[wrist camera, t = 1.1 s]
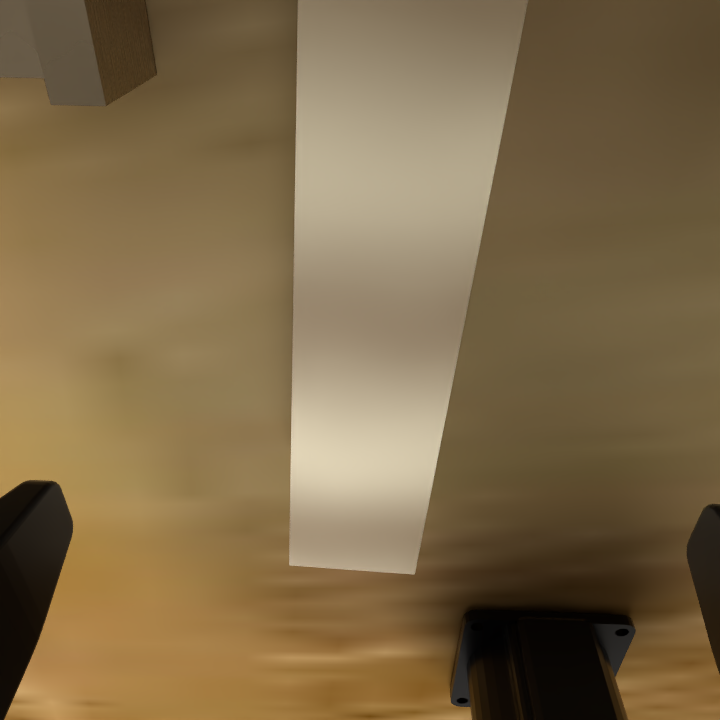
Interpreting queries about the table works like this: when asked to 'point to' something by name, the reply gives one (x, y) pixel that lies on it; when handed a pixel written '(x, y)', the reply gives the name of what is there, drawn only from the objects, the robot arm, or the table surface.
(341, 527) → the rail
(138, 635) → the table surface
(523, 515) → the table surface
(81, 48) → the bracket
